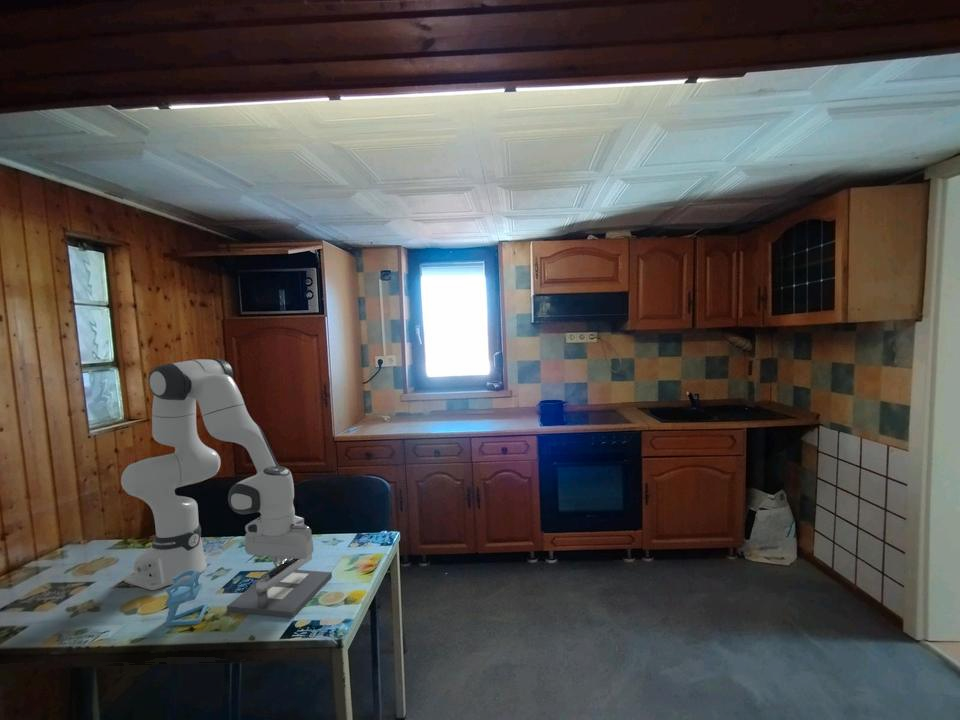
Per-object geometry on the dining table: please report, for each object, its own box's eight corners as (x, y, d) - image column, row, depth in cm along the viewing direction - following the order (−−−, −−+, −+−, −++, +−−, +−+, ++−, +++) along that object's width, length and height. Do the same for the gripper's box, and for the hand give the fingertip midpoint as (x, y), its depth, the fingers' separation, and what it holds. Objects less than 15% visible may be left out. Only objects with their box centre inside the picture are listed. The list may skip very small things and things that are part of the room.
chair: (172, 614, 110) (169, 571, 109) (208, 606, 113) (205, 564, 112) (161, 632, 102) (158, 586, 102) (200, 623, 105) (196, 578, 105)
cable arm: (254, 594, 108) (253, 579, 108) (305, 558, 126) (304, 546, 126) (262, 595, 108) (261, 581, 107) (312, 560, 125) (311, 547, 125)
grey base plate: (227, 611, 110) (226, 593, 110) (274, 572, 128) (273, 557, 128) (293, 617, 106) (292, 599, 106) (331, 576, 125) (331, 561, 125)
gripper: (317, 520, 118) (318, 566, 119) (255, 516, 122) (257, 561, 123) (304, 530, 112) (305, 579, 113) (239, 525, 116) (241, 573, 116)
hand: (280, 569), depth 118 cm, fingers closed
